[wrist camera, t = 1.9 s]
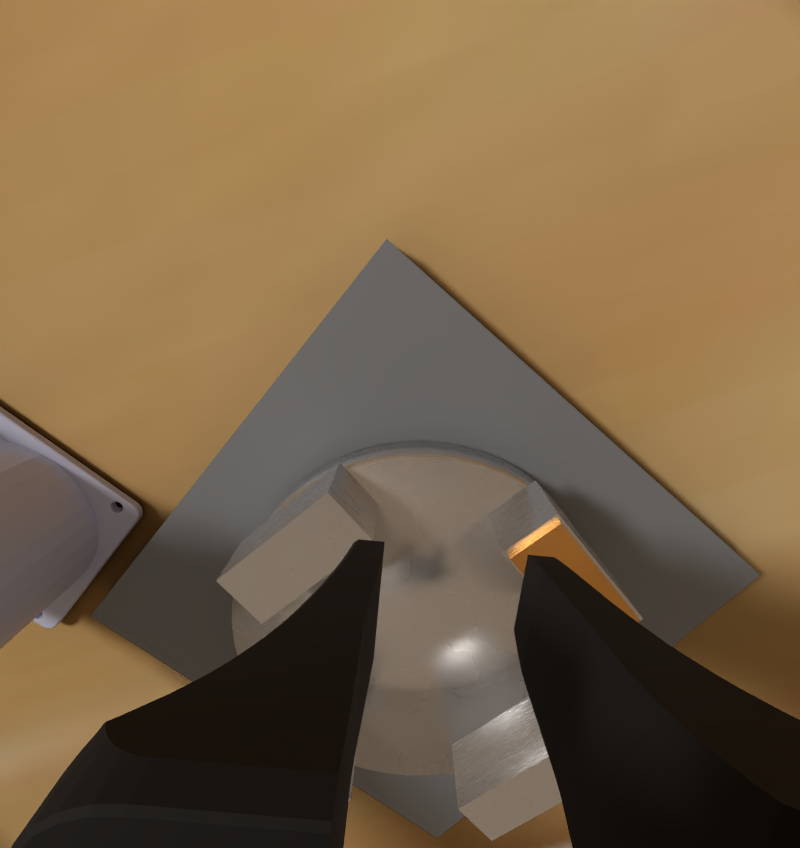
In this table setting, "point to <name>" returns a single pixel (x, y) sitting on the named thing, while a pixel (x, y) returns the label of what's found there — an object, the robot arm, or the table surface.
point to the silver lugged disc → (428, 609)
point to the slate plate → (402, 421)
